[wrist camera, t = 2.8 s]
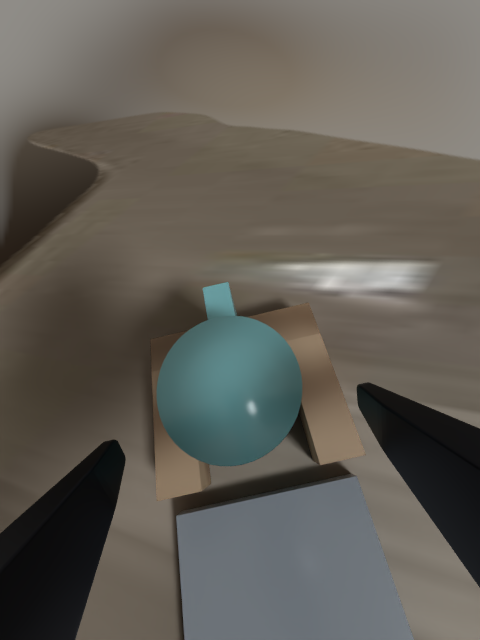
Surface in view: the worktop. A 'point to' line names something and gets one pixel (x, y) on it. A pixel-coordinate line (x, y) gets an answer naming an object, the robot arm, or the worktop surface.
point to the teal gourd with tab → (228, 386)
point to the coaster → (288, 568)
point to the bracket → (315, 410)
